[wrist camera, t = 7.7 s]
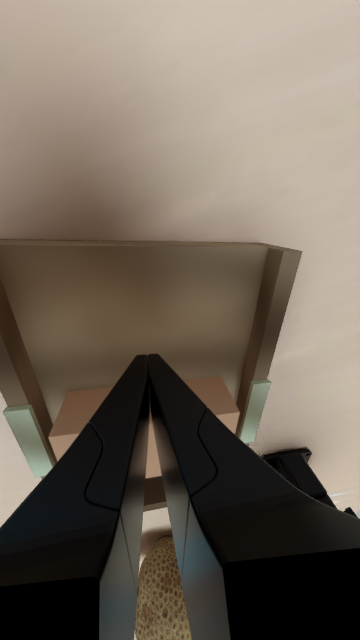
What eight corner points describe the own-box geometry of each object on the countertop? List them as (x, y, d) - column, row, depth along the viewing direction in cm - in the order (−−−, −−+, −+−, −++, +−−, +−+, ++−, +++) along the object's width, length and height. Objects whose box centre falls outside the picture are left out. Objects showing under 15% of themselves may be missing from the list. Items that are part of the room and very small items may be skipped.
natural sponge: (175, 552, 33) (188, 674, 24) (122, 554, 30) (115, 695, 21) (204, 524, 30) (231, 649, 21) (149, 522, 27) (154, 669, 18)
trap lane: (222, 452, 23) (237, 496, 19) (76, 476, 20) (62, 532, 17) (262, 243, 13) (308, 251, 10) (-5, 239, 11) (-78, 249, 7)
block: (213, 424, 17) (228, 463, 14) (81, 443, 15) (69, 491, 12) (221, 376, 14) (239, 412, 12) (67, 391, 13) (48, 437, 10)
